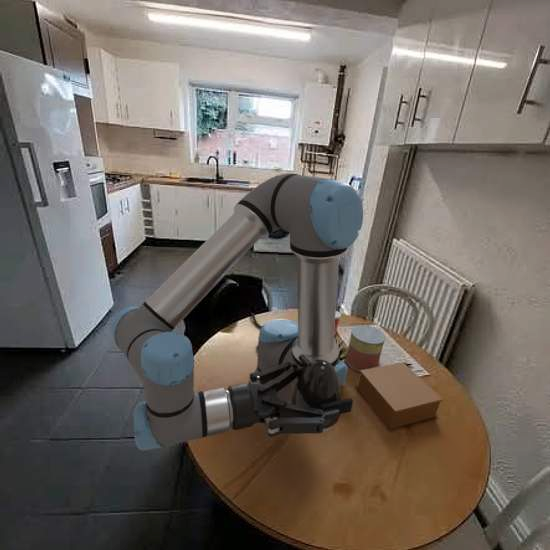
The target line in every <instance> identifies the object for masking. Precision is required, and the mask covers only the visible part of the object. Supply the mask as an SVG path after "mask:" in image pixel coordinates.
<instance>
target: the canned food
mask: <svg viewBox="0 0 550 550" xmlns="http://www.w3.org/2000/svg"><path fill="white" fill-rule="evenodd" d="M385 341H386V336H385V334H384V333H383V332H382V331H381V330H380V329H378V328H377V327H375V326H374V327H373V326H370V325H366V324H361V325H359V324H358V325H355V326H353V327H352V328H351V332H350V338H349V343H348V348H347V353H346V357H345V362H346V365H347V366H349V367H350V368H351V369H353V370H355V371H357V372H359V373H360V370H365V369H370V368H375V367H379V364H380V359H381V357H382V356H381V355H382V352H383V347H384V343H385Z"/></svg>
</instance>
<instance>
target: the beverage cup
mask: <svg viewBox="0 0 550 550" xmlns="http://www.w3.org/2000/svg"><path fill="white" fill-rule="evenodd" d="M341 317H342V313H341V312H340V311H338V310H336V313H335V329H334V336H335V335H336V334H337V330H338V327H339V323H340V319H341Z"/></svg>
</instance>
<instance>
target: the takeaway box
mask: <svg viewBox="0 0 550 550" xmlns="http://www.w3.org/2000/svg"><path fill="white" fill-rule="evenodd" d="M359 373H360V375H359V380H358V385H357V390H358V391H359V392H360V394H361V395H362V396H363V398H364V399H365V400H366V401H367V402H368V404H369V405H370V406H371V407H372V409H373V410H374V411H375V413H376V414H377V415H378V416H379V418H380V419H381V420H382V422H383V423H384V424H385V425H386V426H387V428H388V430H392V429H395V428H399V427H403V426H407V425H410V424H411V425H412V424H414V423H418V422H422V421H425V420H429V419H433V418H436V414H437V411H438V409H439V406H440V404H441V402H443V401H444V398H442V396H440V395H439V393H437V392H436V391H435V390H434V389H433V388H432V387H430V385H428V384H427V383H426V382H425V381H424V380H423V379H422V378H421V377H420V376H419V375H418V374H416V373H415V371H413V370H412V369H411V368H410V367H409V366H408V365H407V364H406V363H404V362H403V361H402V362H398V363H391V364H386V365H382V366H378V367H375V368H370V369H365V370H360V372H359Z"/></svg>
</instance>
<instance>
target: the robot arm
mask: <svg viewBox="0 0 550 550" xmlns="http://www.w3.org/2000/svg"><path fill="white" fill-rule="evenodd" d="M363 206H364V205H363V201H362V198H361V196H360V194H359V193H358V191H356V189H355V188H354V186H352V185H350V184H349V183H346V182H342V181H338V180H336V179H333V178H326V177H319V176H318V177H317V176H311V175H310V176H309V175H302V174H298V173H290V172H286V173H282V174H281V173H280V174H278V175H275V176H272V177H270V178H269V179H267V180H264V181H263V182H261V183H260V184H258V185H257V186H255V187H254V188H253V189H251V190H250V191H249V192H248V193H246V194H245V195H244V196H243V197H242V198H241V199H240V200H239V201H238V202H237V203H236V204H235V205H234V206H233V214H232V215H230V216H229V217H228V219H227V220H225V222H223V224H221V226H220V227H218V229H217V230H216V231H214V233H213V234H212V235H210V237H209V238H208V239H207V240H205V242H203V243H202V244H201V245H200V246H199V247H198V248H197V250H195V252H193V253H192V254H191V255H190V256H189V257H188V259H186V260H185V261H184V262H183V263H182V264H181V265H180V266H179V267H178V268H177V269H176V270H175V271H174V272H173V273H172V274H171V275H170V276H169V277H168V278H167V279H166V280H165V281H164V282H163V283H162V284H161V285H160V286H159V287H158V288H157V289H156V290H155V291H154V292H153V293H152V294H151V295H150V296H149V297H148V298H147V299H146V300H144V302H143V303H142V304H141V305H140V306H139V307H138V306H130V307H127V308H124V309H122V310H120V311H119V312H117V314H116V315H115V316H114V317H113V319H112V321H111V322H110V323H111V324H110V332H111V335H112V338H113V340H114V343H115V345H116V346H117V347H118V349H119V350H120V351H121V352H122V353H123V355H124V356H125V357H126V359H127V360H128V362H129V364H130V366H131V367H132V369H133V370H134V372H135V373H136V375H137V376H138V377H139V380H140V381H141V382H142V385H143V388H144V395H145V401H140V402H139V403H137V404H136V405H135V408H134V413H133V415H134V416H133V430H134V441H135V447H136V448H137V449H139V450H141V451H149V450H153V449H155V450H156V449H165V448H167V447H169V446H174V445H178V444H182V443H187V442H190V441H194V440H195V441H196V440H198V439H203V438H207V437H213V436H216V435H221V434H225V433H229V432H230V430H231V429H232V430H234V431H239V430H243V429H248V428H251V427H253V426H254V425H256V424H258V423H259V424H264V425H265V427H266V429H267V436H268V437H269V438H273V437H276V436H280V435H294V434H295V435H298V434H299V435H300V434H303V435H304V434H315V433H319V434H323V433H322V432H323V428H324V423H325V421H327V420H331V419H335V418H337V417H338V415H339V414H340V415H342V414H347V413H351V412H352V408H353V403H354V400H353V399H352V397H349V398H345V399H341V400H340V401H335V402H330V403H326V404H321V405H320V409H317V408H312V407H306V406H301V405H295V404H291V399H292V395H293V392H294V389H295V386H296V384H297V381H298V379H299V378H300V376H301V374H302V373H303V371H304V370H305V369H306V367H305V365H304V364H303V363H302V362H301V361H300V359H299V356H300V355H303V356H304V357H306V358H307V359H308V360H309V361H310V362H313V361H315V360H319V359H322V360H326V361H328V362H329V363H330V364H331V365H332V366H333V367H334V369H335V371H336V373H337V376H338V380H339V384H340V388H341V387H342V385H343V384H344V381H345V380H346V379H347V375H348V373H349V368H348V364H347V363H345V362H344V361H342V360H340V347H339V344H338V342H336V341H335V335H334V329H335V313H336V311H337V298H338V297H337V295H338V282H339V281H338V278H339V267H340V266H339V263H340V257H341V256H343V255H344V254H345V253H347V251H348V248H349V247H351V246H352V245H353V244H354V243H355V241H356V240H357V238H358V237H359V231H361V230H362V227H363V222H364V207H363ZM278 230H283V231H285V232H287V233H289V249H290V251H291V252H292V253H293V254H294V255H295V256H297V322H296V320H295V321H294V320H291V319H287V318H276V319H271V320H268V321H266V322H265V323H263V324H262V325H260V323H258V321H257V319H256V315H255V313H253V312H251V313H250V316H252V320H253V322H254V324H255V326H256V327H258V328H259V335H258V344H257V362H256V363H257V365H256V368H255V370H254V372H251V373H249V378H248V379H249V382H248V384H247V383H239V384H233V385H229V386H228V387H227V389H226V388H225V387H224V386H221V387H216V388H211V389H206V390H200V391H195V359H194V358H195V357H194V356H195V355H194V354H193V353H194V352H193V345H192V342H191V340H190V339H189V338H188V336H186V335H184V334H180V333H178V332H176V331H173V330H175V329H176V327H178V325H180V323H181V322H182V321H183V320H184V319H185V318H186V317H187V316H188V315H189V314H190V313H191V312H192V310H193V309H195V307H196V306H197V305H199V303H200V302H202V300H203V299H204V298H205V297H206V296H207V295H208V294H209V293H210V291H211V290H213V289H214V288H215V286H217V284H218V283H219V282H220V281H222V279H223V278H224V277H226V275H227V274H228V273H229V272H230V271H231V269H233V268H234V267H235V265H236V264H238V262H240V260H241V259H242V258H243V257H244V256H245V255H246V254H247V253H248V252H249V251H250V250H251V249H252V248H253V247H254V246H255V245H256V243H257V242H258V241H259V240H266V239H268V238H269V237H270V236H271V235H272V233H274V232H277V231H278ZM315 415H316V416H315Z"/></svg>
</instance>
